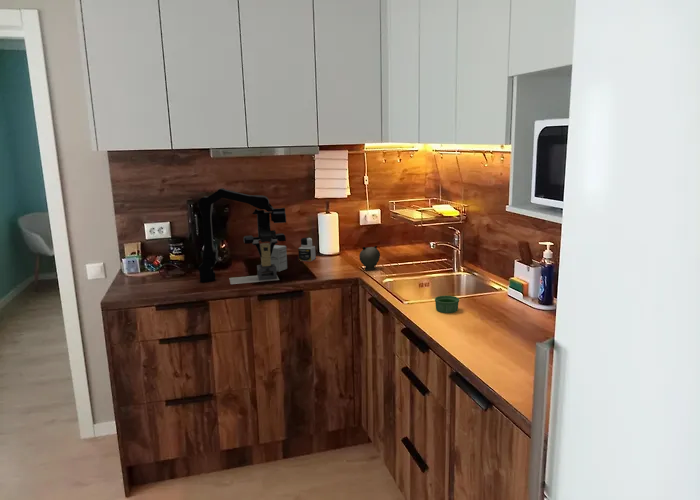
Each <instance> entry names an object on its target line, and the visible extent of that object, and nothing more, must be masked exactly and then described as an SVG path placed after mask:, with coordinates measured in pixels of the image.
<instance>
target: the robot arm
mask: <svg viewBox="0 0 700 500" xmlns="http://www.w3.org/2000/svg"><path fill="white" fill-rule="evenodd" d="M221 199H227V200H230V201H231V200H232V201H235V202H240V203H242V204H243V203H245V204H248V205H250V206H252V207H254V208H255V209H254V211H253V212H252V215H256V220H257V221H256V224H257V236H253V235H244V236H243V243H244V244H245V245H248V244H249V245H250V244H252V245H253V246H255V247H256V249H257V251H258V252H257V253H258V255H259V257H260V258H261V250H260V244H261V243H269V244H270V256H271V254H272V251H273V248H274V245H277V244H278V243H279V242H286V240H287V239H286V238H287V236H286V235H285V234H284V233H282V232H281V233H276V230H274V229H273V230H271V222H273V224H287V215H286V208H285V207H281V208H280V207H279V208H274V207H273V206H272V205H271V203H270V200H269V197H267V196H266V195H262V194H261V195H260V194H259V195H258V194H253V195H252V194H246V193H242V192H237V191H233V190H230V189H229V190H228V189H225V188H223V187H222V188H219V189H218V190H217V191H215V192H214V193H212V194H210V195H205V196H203V197H201V198H199V199H198V203H197V207H198V209H199V212H200V216H201V218H202V219H201V221H202V231H203V232H202V233H203V245H204V246H203V248H204V249H203V254H202V262H201V263H200V265H199V266H198V267H197V269H198V272H199V282H200V283H210V282H211V283H212V282H215V281H216V271H215V270H214V266H215V265H216V263H217V262H218V259H220V258H219V250H218V249H215V246H214V233H213V220H212V217H213V216H212V215H213V211H214V203H216V202H218V201H219V200H221ZM260 242H261V243H260Z"/></svg>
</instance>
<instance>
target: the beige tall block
mask: <svg viewBox="0 0 700 500" xmlns="http://www.w3.org/2000/svg"><path fill="white" fill-rule="evenodd" d="M259 244H260V250H261V257H260V261H261V262H260V265H262V267H263V266H271V256H270V242H261V243H259Z"/></svg>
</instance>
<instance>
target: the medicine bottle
mask: <svg viewBox="0 0 700 500" xmlns="http://www.w3.org/2000/svg"><path fill="white" fill-rule="evenodd" d="M315 259H316V246H315V245H313V239H312V238H311V237H303V238H301V239H300V246H299V247H298V261H299V260H300V261H299V262H313V261H314V260H315Z"/></svg>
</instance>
